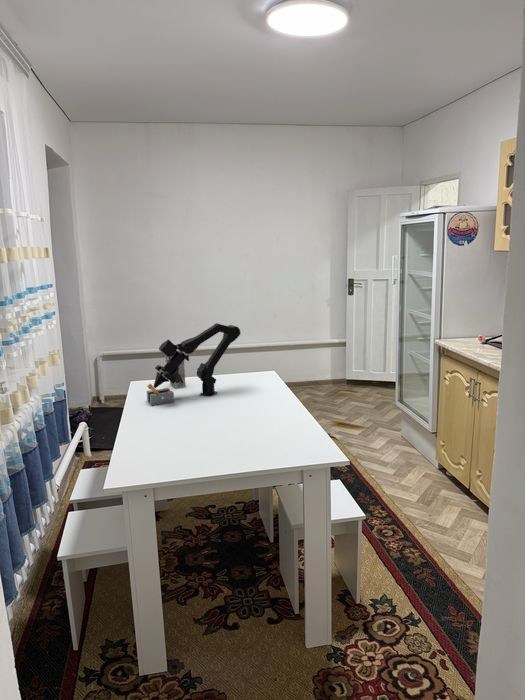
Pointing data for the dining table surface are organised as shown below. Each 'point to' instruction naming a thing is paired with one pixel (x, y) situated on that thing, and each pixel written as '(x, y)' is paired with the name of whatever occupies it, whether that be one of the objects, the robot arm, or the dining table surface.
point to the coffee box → (182, 374)
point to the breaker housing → (160, 397)
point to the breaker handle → (152, 388)
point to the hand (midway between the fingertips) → (154, 387)
